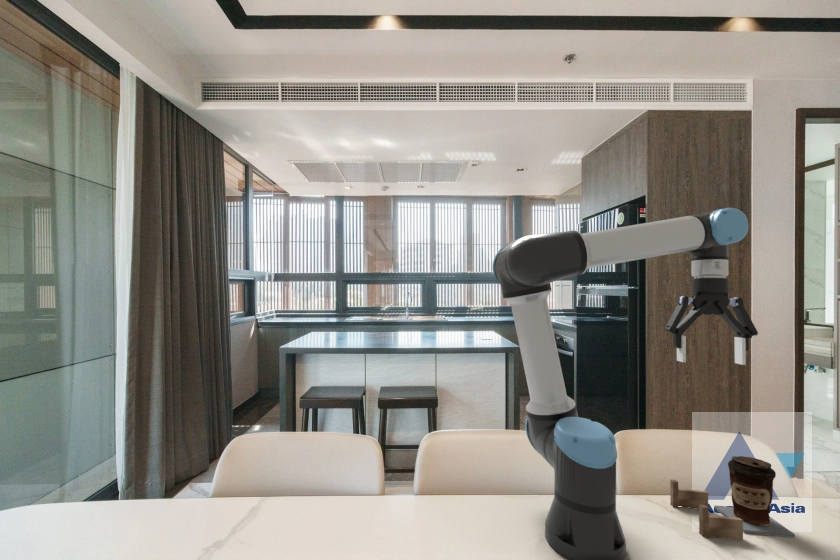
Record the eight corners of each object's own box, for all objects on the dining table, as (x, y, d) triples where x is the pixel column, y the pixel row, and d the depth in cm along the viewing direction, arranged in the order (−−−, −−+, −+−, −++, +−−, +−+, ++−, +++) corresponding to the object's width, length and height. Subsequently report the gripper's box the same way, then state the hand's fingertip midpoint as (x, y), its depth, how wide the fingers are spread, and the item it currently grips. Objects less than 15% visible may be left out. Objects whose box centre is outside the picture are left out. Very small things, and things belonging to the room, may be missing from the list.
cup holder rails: (702, 536, 82) (702, 507, 82) (670, 504, 94) (670, 479, 95) (743, 540, 81) (743, 510, 81) (705, 507, 93) (705, 482, 94)
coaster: (744, 532, 83) (744, 529, 83) (714, 507, 93) (714, 505, 93) (795, 537, 82) (795, 534, 82) (759, 511, 92) (759, 509, 92)
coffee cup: (778, 535, 82) (778, 472, 82) (728, 520, 87) (728, 461, 87) (774, 517, 89) (773, 460, 89) (728, 505, 94) (727, 450, 94)
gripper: (664, 275, 95) (664, 362, 94) (776, 277, 92) (777, 367, 91) (650, 277, 102) (650, 358, 101) (752, 279, 99) (753, 362, 98)
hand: (710, 362), depth 96 cm, fingers open, 13 cm apart
